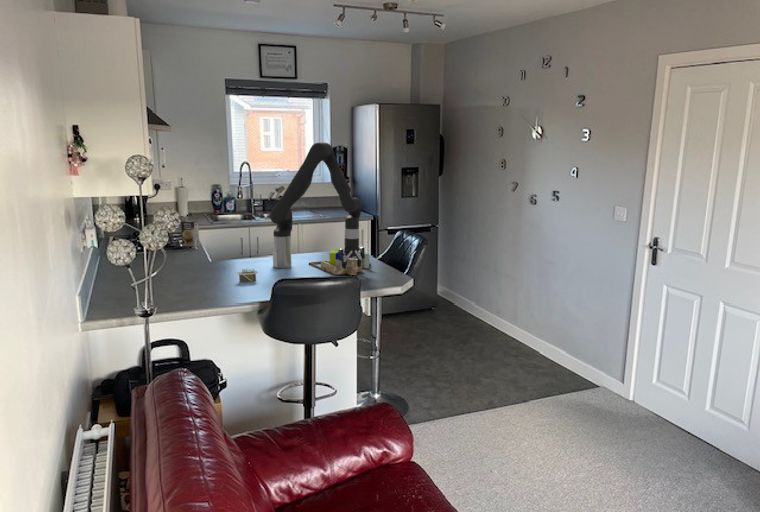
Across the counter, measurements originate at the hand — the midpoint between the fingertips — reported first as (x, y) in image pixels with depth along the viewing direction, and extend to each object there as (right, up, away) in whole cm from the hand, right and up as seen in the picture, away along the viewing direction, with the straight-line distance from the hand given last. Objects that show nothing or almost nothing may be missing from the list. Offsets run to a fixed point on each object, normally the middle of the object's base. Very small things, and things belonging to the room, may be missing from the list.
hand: (351, 267), depth 291 cm
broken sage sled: (+2, +2, +24) cm, 24 cm away
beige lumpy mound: (-4, -2, +8) cm, 9 cm away
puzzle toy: (-6, -2, +10) cm, 12 cm away
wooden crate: (-50, -7, -15) cm, 53 cm away
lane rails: (-7, +1, +22) cm, 23 cm away
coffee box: (-108, +13, +73) cm, 131 cm away
